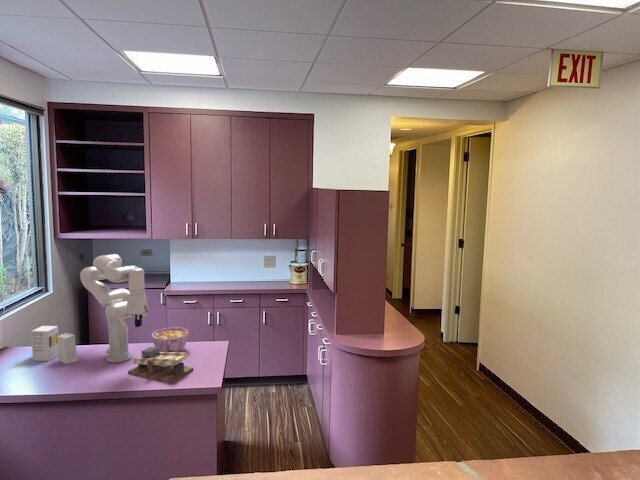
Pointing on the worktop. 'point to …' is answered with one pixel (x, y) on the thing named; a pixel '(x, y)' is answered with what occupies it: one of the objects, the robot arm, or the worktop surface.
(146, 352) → the block
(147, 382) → the worktop surface
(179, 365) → the stand
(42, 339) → the supplement box
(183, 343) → the bowl of food
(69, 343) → the skincare box
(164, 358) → the cream curved piece
